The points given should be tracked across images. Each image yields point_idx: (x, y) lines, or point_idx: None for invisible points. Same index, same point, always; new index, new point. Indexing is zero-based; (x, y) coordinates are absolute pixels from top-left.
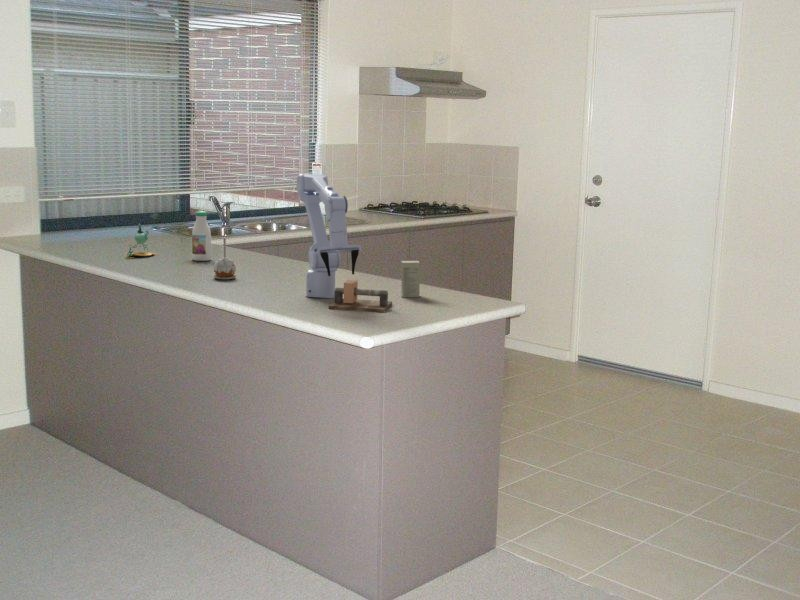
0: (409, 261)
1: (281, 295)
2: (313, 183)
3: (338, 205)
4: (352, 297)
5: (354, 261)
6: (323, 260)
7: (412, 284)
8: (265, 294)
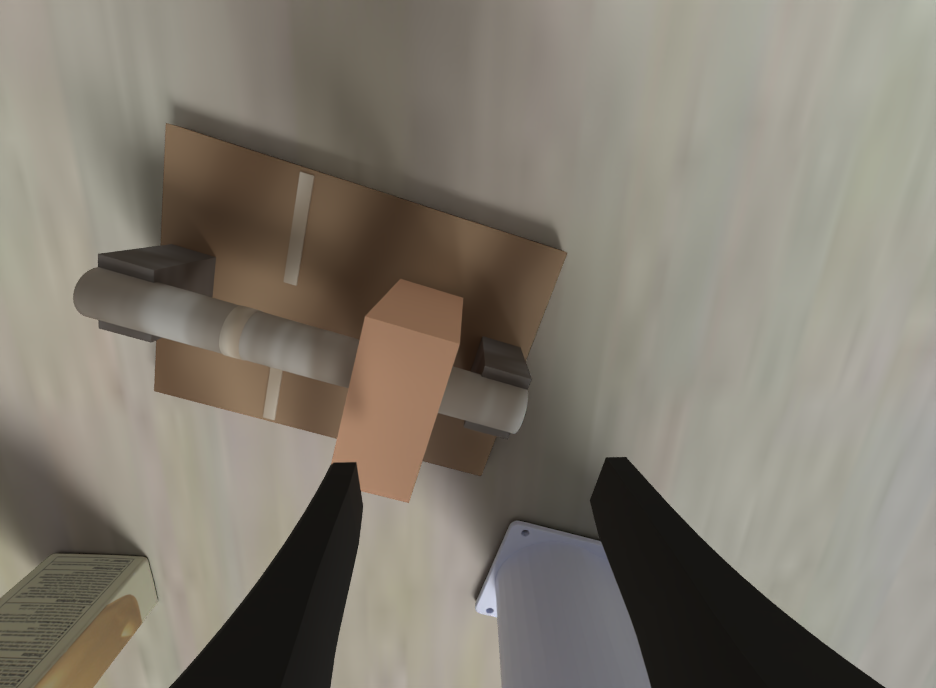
0: None
1: (763, 585)
2: None
3: None
4: (394, 286)
5: (253, 614)
6: (825, 644)
7: (17, 622)
8: (837, 603)
